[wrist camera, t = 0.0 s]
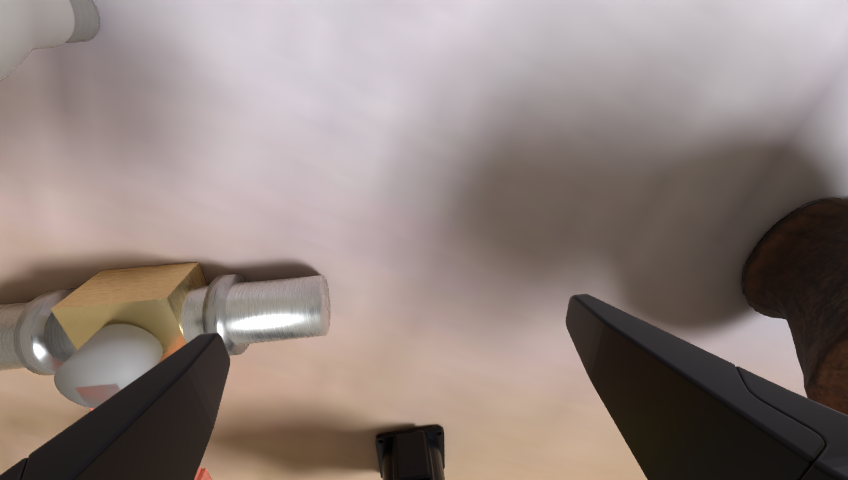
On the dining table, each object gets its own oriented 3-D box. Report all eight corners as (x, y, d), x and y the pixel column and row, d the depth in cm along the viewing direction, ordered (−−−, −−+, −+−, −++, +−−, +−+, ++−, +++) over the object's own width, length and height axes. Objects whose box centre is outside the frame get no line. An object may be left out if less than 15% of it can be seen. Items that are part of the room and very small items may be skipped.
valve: (335, 315, 27) (326, 367, 23) (25, 347, 25) (-53, 410, 21) (322, 247, 25) (309, 290, 20) (-27, 277, 23) (-130, 332, 18)
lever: (225, 473, 27) (200, 540, 23) (175, 480, 26) (141, 549, 23) (148, 320, 20) (96, 380, 16) (80, 327, 20) (11, 389, 16)
